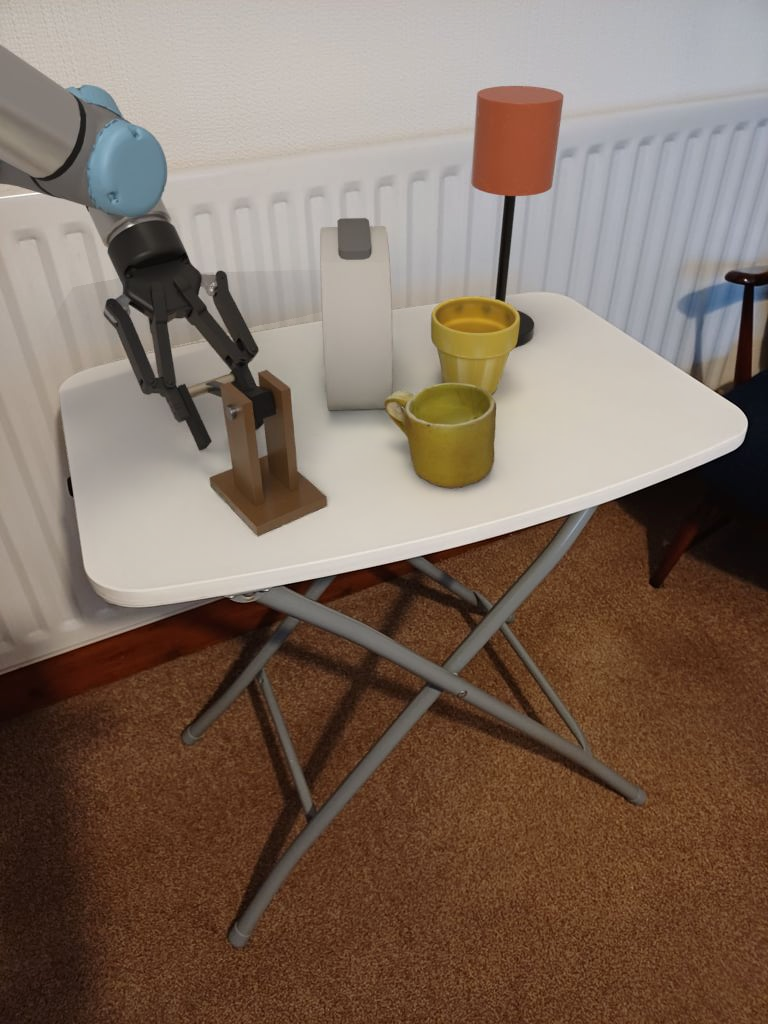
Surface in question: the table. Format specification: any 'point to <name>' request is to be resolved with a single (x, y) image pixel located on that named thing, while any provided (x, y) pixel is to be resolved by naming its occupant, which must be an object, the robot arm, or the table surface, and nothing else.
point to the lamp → (515, 159)
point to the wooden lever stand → (264, 462)
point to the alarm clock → (356, 314)
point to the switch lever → (257, 394)
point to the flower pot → (474, 339)
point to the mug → (447, 431)
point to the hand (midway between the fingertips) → (232, 435)
